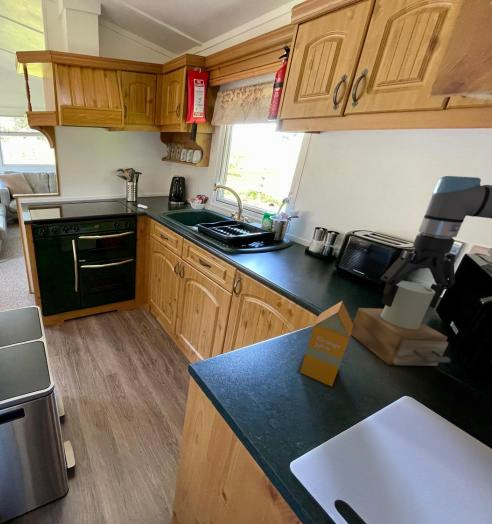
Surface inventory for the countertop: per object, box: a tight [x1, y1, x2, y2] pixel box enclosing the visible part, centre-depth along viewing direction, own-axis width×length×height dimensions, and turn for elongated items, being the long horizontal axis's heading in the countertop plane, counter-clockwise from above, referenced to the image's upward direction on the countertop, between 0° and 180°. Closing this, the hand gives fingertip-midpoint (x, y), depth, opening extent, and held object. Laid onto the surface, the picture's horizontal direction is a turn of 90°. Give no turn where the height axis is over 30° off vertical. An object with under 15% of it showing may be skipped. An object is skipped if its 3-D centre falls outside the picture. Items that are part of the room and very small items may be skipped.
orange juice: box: [299, 300, 353, 388], centre depth 75 cm, size 8×9×20 cm
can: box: [381, 280, 435, 330], centre depth 85 cm, size 9×9×12 cm
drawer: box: [392, 339, 451, 367], centre depth 85 cm, size 19×13×8 cm
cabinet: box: [351, 307, 448, 366], centre depth 89 cm, size 16×14×10 cm
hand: (407, 305), depth 85 cm, fingers open, 13 cm apart
